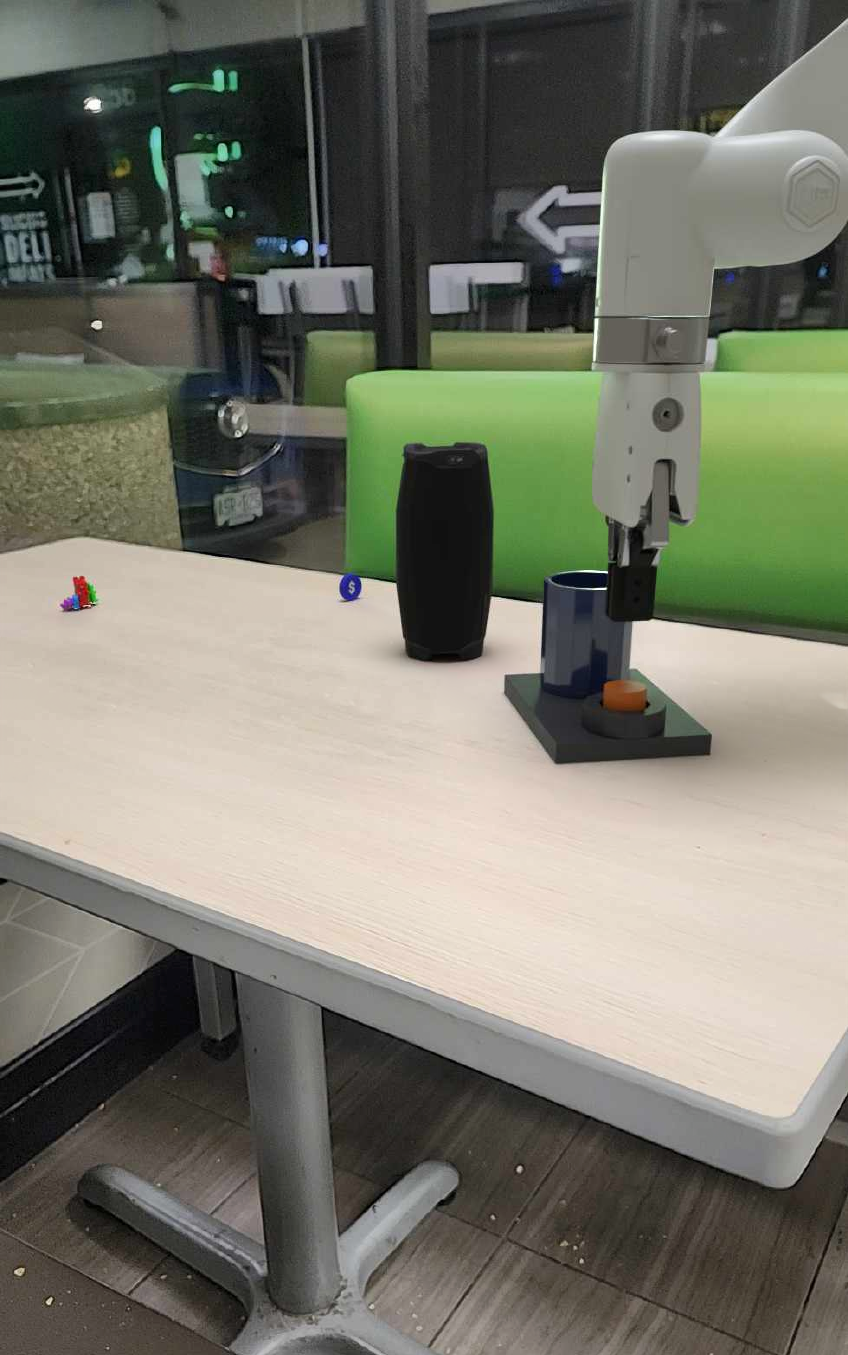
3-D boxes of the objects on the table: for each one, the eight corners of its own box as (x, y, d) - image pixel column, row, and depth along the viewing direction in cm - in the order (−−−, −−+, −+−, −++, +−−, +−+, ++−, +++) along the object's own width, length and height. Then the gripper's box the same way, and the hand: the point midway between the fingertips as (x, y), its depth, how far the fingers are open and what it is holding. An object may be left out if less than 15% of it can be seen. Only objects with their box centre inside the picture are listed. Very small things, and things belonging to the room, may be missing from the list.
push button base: (635, 686, 103) (637, 648, 101) (710, 756, 86) (715, 711, 85) (504, 693, 101) (504, 654, 100) (555, 764, 85) (557, 720, 83)
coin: (343, 602, 134) (343, 576, 133) (339, 601, 134) (338, 575, 133) (362, 598, 136) (361, 572, 135) (357, 597, 136) (357, 571, 135)
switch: (637, 700, 89) (639, 679, 88) (651, 713, 86) (653, 691, 85) (597, 702, 88) (599, 681, 88) (609, 715, 85) (611, 693, 85)
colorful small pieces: (65, 613, 129) (61, 581, 128) (55, 608, 131) (51, 577, 130) (106, 606, 132) (102, 575, 131) (95, 602, 134) (92, 571, 133)
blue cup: (613, 672, 101) (620, 569, 97) (640, 697, 94) (648, 587, 91) (531, 675, 100) (535, 572, 96) (552, 701, 93) (557, 591, 90)
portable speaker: (380, 652, 114) (376, 445, 106) (451, 636, 119) (452, 438, 111) (437, 670, 108) (437, 452, 100) (509, 653, 113) (514, 445, 105)
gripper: (747, 350, 71) (715, 643, 78) (665, 346, 84) (644, 595, 92) (629, 350, 70) (608, 647, 77) (565, 346, 83) (553, 598, 90)
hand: (628, 618), depth 84 cm, fingers closed
